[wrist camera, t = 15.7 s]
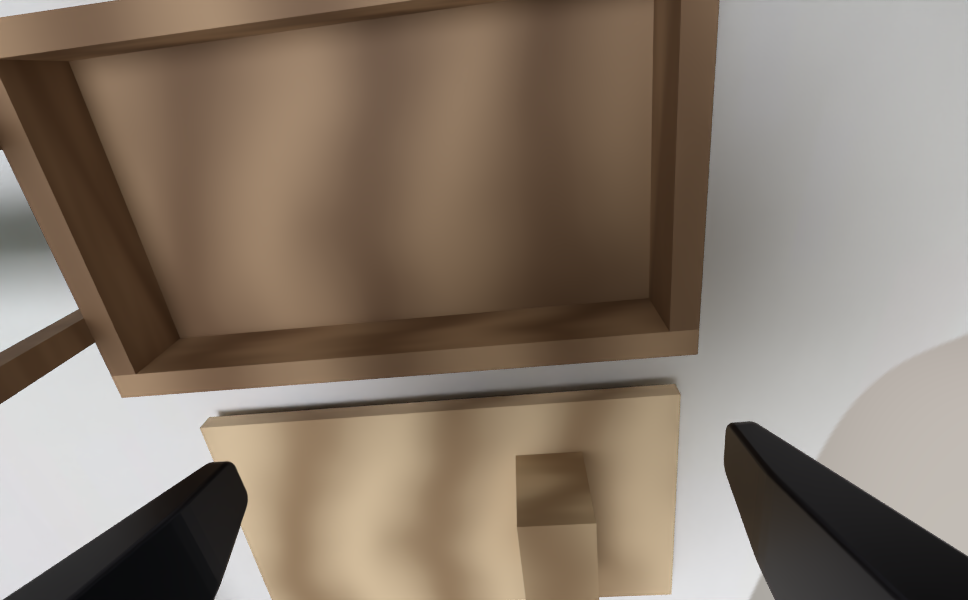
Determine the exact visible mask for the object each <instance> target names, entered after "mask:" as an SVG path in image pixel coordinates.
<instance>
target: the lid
mask: <svg viewBox="0 0 968 600" xmlns="http://www.w3.org/2000/svg"><path fill="white" fill-rule="evenodd" d="M680 397H681V394H680V392H679V390H678V389H677V387H676V385H675V384H666V385H652V386H638V387H624V388H610V389H596V390H582V391H568V392H554V393H540V394H526V395H512V396H498V397H484V398H470V399H456V400H442V401H429V402H415V403H401V404H387V405H373V406H359V407H345V408H331V409H317V410H303V411H289V412H275V413H261V414H247V415H233V416H219V417H209V418H208V419H207V420H206V422H205V423H204V424H203V425H202V426H201V427H200V429H201V432H202V434H203V436H204V439H205V441H206V444H207V446H208V448H209V451H210V453H211V456H212V458H213V460H214V462H221V461H229V462H232V463H233V464H234V465H235V466H236V468H237V471H238V473H239V475H240V477H241V479H242V482H243V484H244V486H245V488H246V491H247V494H248V504H247V508H246V511H245V514H244V517H243V520H242V523H241V527H242V530H243V532H244V534H245V537H246V539H247V542H248V544H249V546H250V549H251V551H252V553H253V556H254V558H255V561H256V563H257V565H258V568H259V570H260V573H261V575H262V577H263V580H264V582H265V585H266V587H267V589H268V592H269V594H270V596H271V599H272V600H599V597H613V596H640V595H667V594H671V589H672V567H673V546H674V525H675V504H676V482H677V461H678V440H679V419H680Z"/></svg>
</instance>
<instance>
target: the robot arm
mask: <svg viewBox="0 0 968 600" xmlns="http://www.w3.org/2000/svg"><path fill="white" fill-rule="evenodd" d="M724 467H725V472H726V475H727V478H728V481H729V484H730V487H731V490H732V493H733V495H734V498H735V501H736V504H737V507H738V510H739V513H740V515H741V518H742V521H743V524H744V527H745V530H746V532H747V535H748V538H749V541H750V544H751V547H752V549H753V552H754V555H755V557H756V560H757V562H758V565H759V567H760V569H761V571H762V574H763V576H764V578H765V580H766V582H767V584H768V586H769V588H770V590H771V593H772V595H773V597H774V599H775V600H968V556H967V555H965V554H964V553H962V552H961V551H959V550H957V549H955V548H954V547H953V546H951V545H949V544H948V543H946V542H945V541H943V540H941V539H940V538H938V537H937V536H935V535H933V534H932V533H930V532H929V531H927V530H925V529H924V528H922V527H921V526H919V525H918V524H916V523H914V522H913V521H911V520H910V519H908V518H906V517H905V516H903V515H902V514H900V513H898V512H897V511H895V510H894V509H892V508H890V507H889V506H887V505H885V504H884V503H883V502H881V501H879V500H878V499H876V498H875V497H873V496H871V495H870V494H868V493H867V492H865V491H863V490H862V489H860V488H859V487H857V486H856V485H854V484H852V483H851V482H849V481H848V480H846V479H844V478H843V477H841V476H839V475H838V474H837V473H835V472H833V471H832V470H830V469H829V468H827V467H825V466H824V465H822V464H820V463H819V462H817V461H816V460H814V459H813V458H811V457H809V456H808V455H806V454H805V453H803V452H802V451H800V450H798V449H797V448H795V447H794V446H792V445H790V444H789V443H787V442H786V441H784V440H782V439H781V438H779V437H778V436H776V435H775V434H773V433H771V432H770V431H768V430H767V429H765V428H763V427H762V426H760V425H759V424H757V423H755V422H750V421H748V422H735V423H730V424H729V425H727V428H726V435H725V450H724ZM247 504H248V494H247V491H246V488H245V486H244V484H243V482H242V479H241V477H240V475H239V473H238V471H237V468H236V466H235V465H234V464H233V463H232V462H229V461H221V462H211V463H208V464H206V465H205V466H203V467H202V468H200V469H199V470H197V471H196V472H194V473H192V474H191V475H189V476H188V477H186V478H185V479H183V480H182V481H180V482H179V483H177V484H176V485H174V486H173V487H171V488H170V489H168V490H167V491H165V492H164V493H162V494H161V495H159V496H158V497H156V498H155V499H153V500H152V501H150V502H149V503H147V504H146V505H144V506H143V507H141V508H140V509H138V510H137V511H135V512H134V513H132V514H131V515H129V516H128V517H126V518H125V519H123V520H122V521H120V522H119V523H117V524H116V525H114V526H113V527H111V528H110V529H108V530H107V531H105V532H104V533H102V534H101V535H99V536H98V537H96V538H95V539H93V540H92V541H90V542H89V543H87V544H86V545H84V546H83V547H81V548H80V549H78V550H77V551H75V552H74V553H72V554H71V555H69V556H68V557H66V558H65V559H63V560H62V561H60V562H59V563H57V564H56V565H54V566H53V567H51V568H50V569H48V570H47V571H45V572H44V573H42V574H41V575H39V576H38V577H36V578H35V579H33V580H32V581H30V582H29V583H27V584H26V585H24V586H23V587H21V588H20V589H18V590H17V591H15V592H14V593H12V594H11V595H9V596H8V597H6V598H5V599H3V600H214V599H215V596H216V594H217V591H218V589H219V587H220V584H221V581H222V578H223V576H224V573H225V570H226V567H227V564H228V561H229V558H230V555H231V552H232V550H233V547H234V544H235V541H236V538H237V535H238V532H239V529H240V526H241V523H242V520H243V517H244V514H245V511H246V508H247Z"/></svg>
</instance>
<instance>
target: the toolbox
mask: <svg viewBox="0 0 968 600" xmlns="http://www.w3.org/2000/svg"><path fill="white" fill-rule="evenodd" d="M718 15H719V0H115V1H108V2H102V3H95V4H88V5H81V6H75V7H68V8H61V9H54V10H48V11H41V12H34V13H27V14H21V15H14V16H7V17H1V18H0V150H3V152H4V154H5V156H6V158H7V160H8V162H9V164H10V166H11V168H12V170H13V172H14V174H15V176H16V179H17V181H18V183H19V185H20V187H21V189H22V191H23V193H24V195H25V197H26V199H27V201H28V204H29V206H30V208H31V210H32V212H33V214H34V216H35V218H36V220H37V222H38V224H39V226H40V228H41V231H42V233H43V235H44V237H45V239H46V241H47V243H48V245H49V247H50V249H51V251H52V253H53V256H54V258H55V260H56V262H57V264H58V266H59V268H60V270H61V272H62V274H63V276H64V278H65V281H66V283H67V285H68V287H69V289H70V291H71V293H72V295H73V297H74V299H75V301H76V303H77V305H78V308H79V309H78V310H76V311H75V312H73V313H71V314H69V315H67V316H66V317H64V318H62V319H60V320H58V321H57V322H55V323H53V324H51V325H49V326H48V327H46V328H44V329H42V330H40V331H38V332H37V333H35V334H33V335H31V336H29V337H28V338H26V339H24V340H22V341H20V342H19V343H17V344H15V345H13V346H11V347H10V348H8V349H6V350H4V351H2V352H0V404H1V403H3V402H4V401H6V400H7V399H9V398H10V397H12V396H13V395H15V394H17V393H18V392H20V391H21V390H23V389H24V388H26V387H27V386H29V385H30V384H32V383H33V382H35V381H36V380H38V379H39V378H41V377H43V376H44V375H46V374H47V373H49V372H50V371H52V370H53V369H55V368H56V367H58V366H59V365H61V364H62V363H64V362H65V361H67V360H69V359H70V358H72V357H73V356H75V355H76V354H78V353H79V352H81V351H82V350H84V349H85V348H87V347H88V346H90V345H91V344H93V343H96V345H97V347H98V349H99V351H100V353H101V355H102V357H103V360H104V362H105V364H106V366H107V368H108V370H109V372H110V374H111V376H112V378H113V380H114V382H115V385H116V387H117V389H118V391H119V393H120V395H121V397H122V398H126V397H139V396H152V395H166V394H179V393H192V392H205V391H219V390H232V389H245V388H258V387H272V386H285V385H298V384H311V383H325V382H338V381H351V380H364V379H378V378H391V377H404V376H417V375H431V374H444V373H457V372H470V371H484V370H497V369H510V368H523V367H537V366H550V365H563V364H576V363H590V362H603V361H616V360H629V359H643V358H656V357H669V356H682V355H696V354H698V339H699V323H700V307H701V291H702V275H703V258H704V242H705V226H706V210H707V193H708V177H709V161H710V145H711V128H712V112H713V96H714V80H715V64H716V47H717V31H718Z"/></svg>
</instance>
